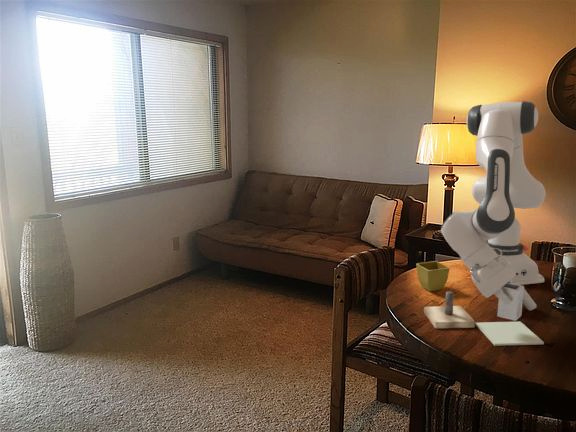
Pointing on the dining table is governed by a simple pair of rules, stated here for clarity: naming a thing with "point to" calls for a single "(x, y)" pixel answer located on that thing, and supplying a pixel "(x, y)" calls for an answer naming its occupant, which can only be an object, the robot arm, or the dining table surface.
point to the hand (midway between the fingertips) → (513, 299)
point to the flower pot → (432, 275)
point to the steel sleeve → (515, 306)
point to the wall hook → (528, 301)
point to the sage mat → (508, 333)
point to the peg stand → (449, 315)
